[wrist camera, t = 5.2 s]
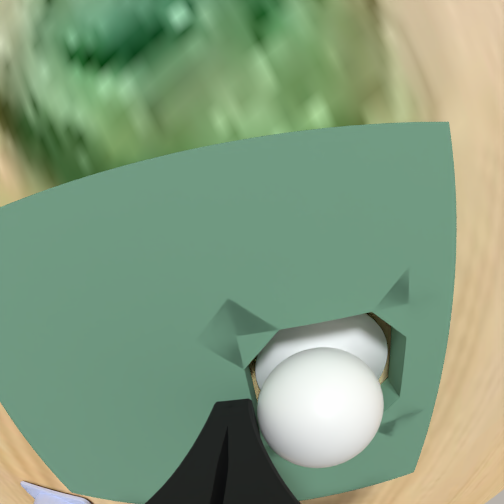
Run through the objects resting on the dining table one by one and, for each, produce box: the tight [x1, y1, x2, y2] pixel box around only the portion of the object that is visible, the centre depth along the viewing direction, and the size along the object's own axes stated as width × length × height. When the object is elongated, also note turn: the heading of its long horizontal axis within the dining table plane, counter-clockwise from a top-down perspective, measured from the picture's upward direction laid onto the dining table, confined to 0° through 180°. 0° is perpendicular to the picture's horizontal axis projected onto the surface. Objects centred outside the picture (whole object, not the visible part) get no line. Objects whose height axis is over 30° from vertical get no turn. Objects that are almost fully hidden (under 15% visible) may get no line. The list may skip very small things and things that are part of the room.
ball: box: [257, 347, 384, 468], centre depth 10 cm, size 4×4×4 cm
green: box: [0, 122, 456, 504], centre depth 12 cm, size 18×22×2 cm
